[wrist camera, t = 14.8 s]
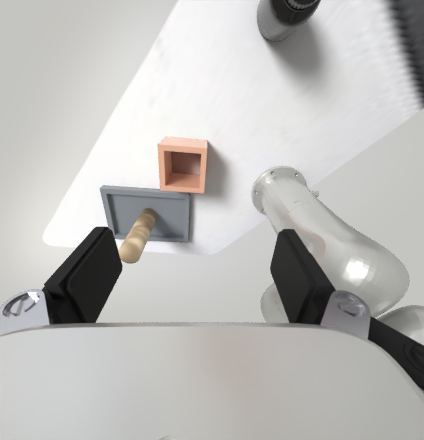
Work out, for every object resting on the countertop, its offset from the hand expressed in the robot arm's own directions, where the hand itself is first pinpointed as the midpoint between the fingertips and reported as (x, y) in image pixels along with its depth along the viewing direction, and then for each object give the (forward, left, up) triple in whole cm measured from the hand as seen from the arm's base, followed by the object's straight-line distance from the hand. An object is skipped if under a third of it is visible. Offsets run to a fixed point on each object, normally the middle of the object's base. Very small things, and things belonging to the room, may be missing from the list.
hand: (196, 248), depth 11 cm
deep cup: (+4, +4, -35) cm, 35 cm away
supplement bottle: (-10, -20, -35) cm, 42 cm away
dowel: (+13, +19, -34) cm, 41 cm away
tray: (+13, +19, -35) cm, 42 cm away
